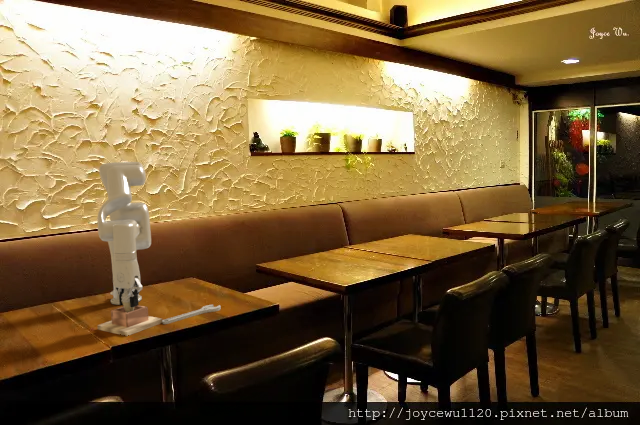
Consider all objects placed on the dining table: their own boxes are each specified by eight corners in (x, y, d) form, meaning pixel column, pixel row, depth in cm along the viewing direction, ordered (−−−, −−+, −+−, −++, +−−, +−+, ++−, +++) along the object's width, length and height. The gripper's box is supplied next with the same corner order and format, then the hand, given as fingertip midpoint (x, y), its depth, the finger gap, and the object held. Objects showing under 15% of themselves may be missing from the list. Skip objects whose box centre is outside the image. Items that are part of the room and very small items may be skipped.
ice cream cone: (125, 319, 190) (122, 280, 188) (139, 319, 190) (136, 280, 188) (121, 324, 185) (118, 284, 183) (135, 323, 185) (132, 283, 183)
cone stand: (97, 329, 185) (96, 311, 184) (133, 316, 198) (132, 300, 198) (126, 336, 177) (125, 317, 176) (162, 322, 190) (161, 305, 190)
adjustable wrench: (164, 326, 188) (164, 321, 188) (156, 322, 193) (156, 317, 192) (222, 310, 205) (222, 306, 205) (214, 307, 210) (214, 303, 209)
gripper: (101, 256, 186) (105, 305, 188) (132, 260, 177) (136, 311, 179) (118, 253, 192) (122, 300, 194) (150, 256, 184) (153, 305, 186)
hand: (129, 304), depth 187 cm, fingers closed on ice cream cone, 5 cm apart
